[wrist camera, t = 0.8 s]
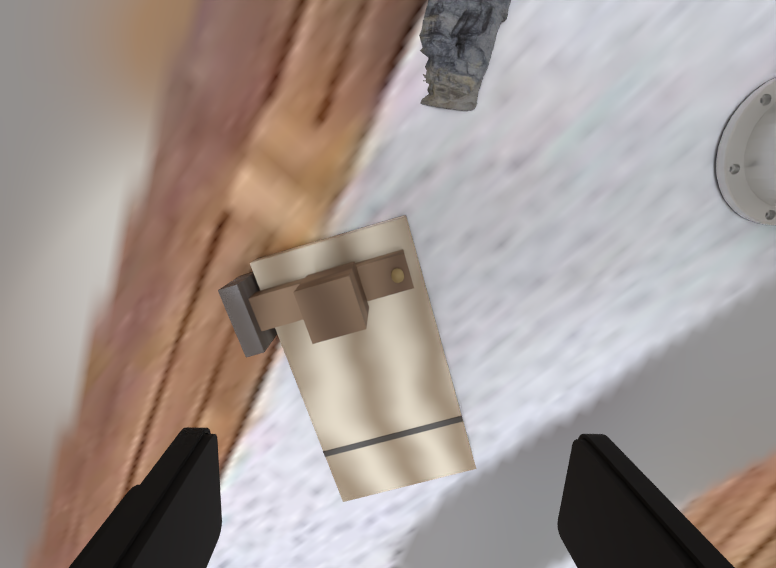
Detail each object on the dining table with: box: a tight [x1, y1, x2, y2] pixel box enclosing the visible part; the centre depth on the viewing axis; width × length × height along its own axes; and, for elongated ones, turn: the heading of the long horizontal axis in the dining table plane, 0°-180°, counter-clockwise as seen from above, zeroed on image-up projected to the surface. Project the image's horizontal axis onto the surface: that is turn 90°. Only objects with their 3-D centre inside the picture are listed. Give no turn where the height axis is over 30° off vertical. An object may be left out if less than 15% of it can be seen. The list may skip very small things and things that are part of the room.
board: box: [250, 215, 476, 502], centre depth 37 cm, size 14×26×2 cm, turn 16°
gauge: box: [218, 249, 414, 357], centre depth 31 cm, size 15×6×9 cm, turn 106°
